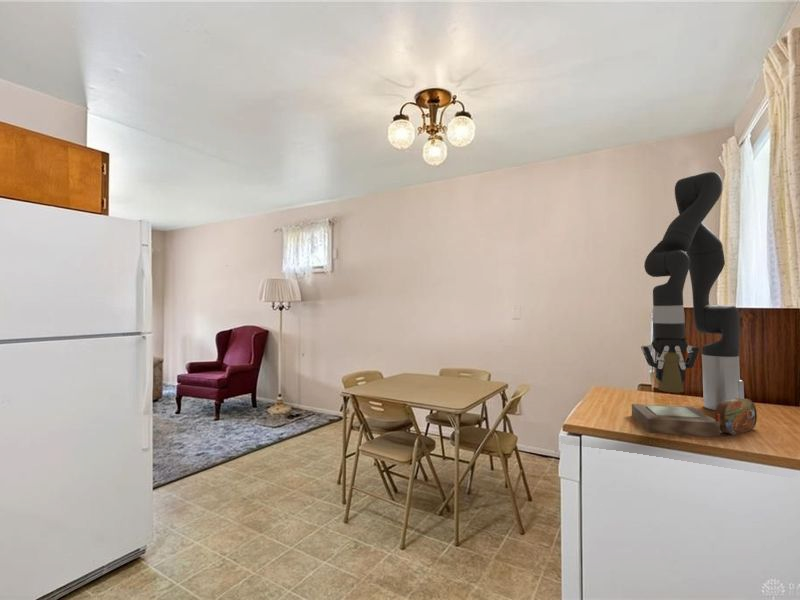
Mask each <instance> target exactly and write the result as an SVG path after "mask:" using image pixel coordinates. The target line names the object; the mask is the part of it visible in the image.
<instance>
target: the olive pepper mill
mask: <svg viewBox="0 0 800 600" xmlns="http://www.w3.org/2000/svg"><path fill="white" fill-rule="evenodd" d="M660 357H661V355H659V358H660ZM664 360H665V361H664V364H663V368H662V369H663V377H662V382H660V380H659V381H658V385H657V389H658V390H659V391H663V392H669V393H683V392H685V389H684V384H683V383H682V380H681V374H680V368H679V360H680V356H679V355H678V354H677V353H676V352H668V353H666V354H665V355H664Z"/></svg>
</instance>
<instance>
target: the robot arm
mask: <svg viewBox="0 0 800 600" xmlns="http://www.w3.org/2000/svg"><path fill="white" fill-rule="evenodd" d="M723 188H724V187H723V179H722V177H721V176H720V174H719V173H718V172H716V171H706V172H703V173H698V174H695V175H691V176H688V177H684V178H680V179H679V180H677V182H675V185H674V199H675V202H676V203H675V204H676V205H677V206H676V207H677V211H678V214H679V215H678V216H677V217H675V218H674V219H673V220H672V221H671V222H670V224H669V226H668V227H667V228H666V231H665V233H664V235H663V238H662V239H661V240H660V241H659V243H657V244H656V245H655V247H653V249H652V250H651V251H650V252H649V253H648V255H646V258H645V261H644V266H643V267H644V270H645V273H646V274H647V275H649V276H650V277H652V278H660V277H661V278H662V277H669V278H668V280H667V282H665V283H663V284H660V285H656V286H654V287H653V289H652V305H653V307H652V318H651V321H652V342H651V344H647V345H642V346H640V348H641V351H642V353H643V356H644V358H645V361H646V362H647V365H648V366H650V367H653V368H654V369H655V379H656V380H657V381H658V382H659V380H660V382H662V377H663V369H662V368H663V364H664V361H665V360H664V355H665V354H666V353H668V352H676V353H677V354H678V355H679V356H680V360H679V368H680V374H681V380H682V384H683V382H685V380H686V369H689V368H693V367H694V364H695V362H696V360H697V356H698V354H699V351H700V348H699V346H694V345H689V344H688V343H687V341H686V315H685V309H684V289H685V283H686V279H687V276H688V273H689V275H690V282H691V290H692V293H691V294H692V307H693V308H692V309H693V310H692V311H693V321H694V325H695V328H696V330H697V331H698V332H699V333H701V334H712V335H713V334H716V335H718V334H719V335H721V338H720V339H719V340H718V341H715V342H712V343H707V344H704V345H702V346H701V363H702V364H701V365H702V366H701V367H702V389H703V391H702V393H703V396H702V397H703V398H702V399H703V400H702V401H703V407H704V408H706V409H708V410H712V411H715V410H716V407H717V405H718V404H719V403H720V402H723V401H727V400H731V399H735V398H742V399H745V390H744V389H745V388H744V381H743V380H742V379H741V375H740V374H741V373H740V370H741V369H740V345H741V344H740V343H741V341H740V339H741V338H740V337H741V335H740V331H741V330H740V329H741V314H740V311H739V309H738V308H737V307H736V306H735V305H731V304H723V305H721V304H720V305H719V304H717V305H716V304H714V305H710V292H711V290H712V288H713V286H714V284H715V282H716V281H717V279H718V278H719V277H720V275H721V273H722V272H723V269H724V268H725V267H724V266H725V265H726V264H725V263H726V261H725V260H726V259H725V254H724V252H725V251H724V247H723V246H724V245H723V243H722V241H721V239H720V238H719V237H718V236H717V235H716V234H715V233H714V232H712V230H710V229H709V228H708V227H707V226H706V225H705V224H704V223H703V221H704V220H705V219H706V217H707V216H708V214H709V213H710V212H711V211H712V209H713V208H714V206H715V205H716V204H717V202H718V201H719V199H720V197H721V196H722V192H723ZM653 350H655V352H656V353H657V355H656V357H655V359H656V361H654V358H653V356H652V352H653ZM685 351H686V352H687V357H686V359H684V357H683V353H684V352H685ZM659 355H661V357H660V358H659Z"/></svg>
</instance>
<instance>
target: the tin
mask: <svg viewBox="0 0 800 600" xmlns="http://www.w3.org/2000/svg"><path fill="white" fill-rule="evenodd" d="M757 411H758V410H757V408H756V405H755V403H754V402H753V401H752V400H751V399H749V398H744V399H742V398H735V399H731V400H727V401H723V402H720V403H719V404H718V405H717V407H716V410H714V414H715V420H716V421H718V422H719V423H720V433H721V432H722V433H724V434H729V435H732V436H737V435H740V434H743V433H746V432H749V431H752V430H754V429H755V426H756V425H757V418H758V413H757Z"/></svg>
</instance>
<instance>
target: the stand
mask: <svg viewBox="0 0 800 600" xmlns="http://www.w3.org/2000/svg"><path fill="white" fill-rule="evenodd" d="M631 415H632V417H633V418H634V419H635V420H636V421H637V422H638V423H639V424H640V425H641V426H642V427H643V429H645V430H646V431H647V432H648V433H656V434H669V433H670V434H671V435H683V436H686V435H687V436H701V437H702V436H703V437H714V438H715V437H717V438H721V431H720V423H719V422H718V421H716V419H714V418H713V417H711V416H709V415H707V414H706V413H704V412H702V411H701V410H700V409H698V408H696V407H694V406H691V405H690V406H688V405H687V406H686V405H668V404H667V405H666V404H665V405H664V404H645V403H643V404H642V403H631Z"/></svg>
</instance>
